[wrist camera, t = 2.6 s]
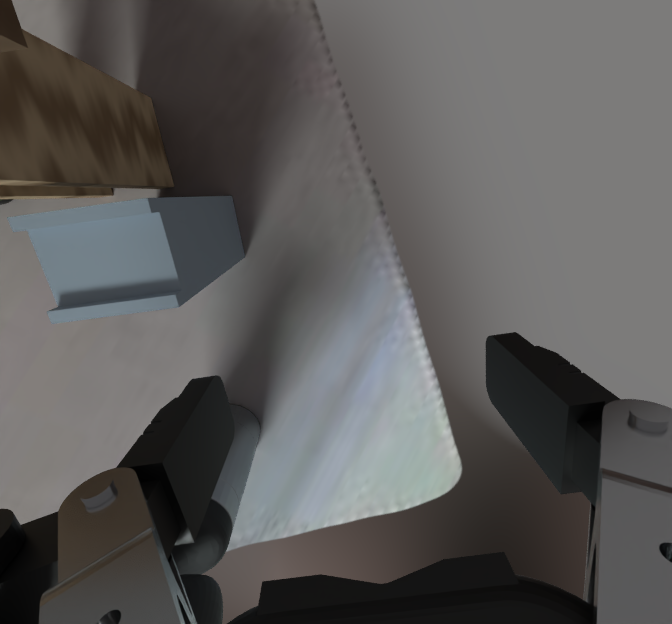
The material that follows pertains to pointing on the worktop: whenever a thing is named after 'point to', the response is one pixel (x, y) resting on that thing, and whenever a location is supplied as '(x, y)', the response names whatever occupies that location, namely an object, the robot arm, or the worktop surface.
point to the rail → (10, 28)
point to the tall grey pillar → (132, 253)
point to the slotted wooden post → (73, 129)
